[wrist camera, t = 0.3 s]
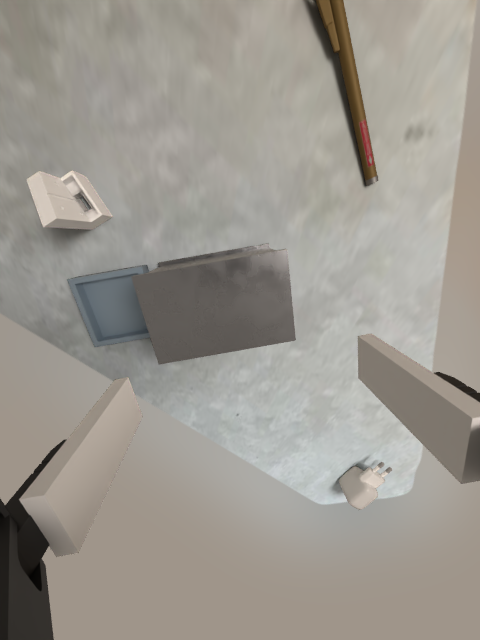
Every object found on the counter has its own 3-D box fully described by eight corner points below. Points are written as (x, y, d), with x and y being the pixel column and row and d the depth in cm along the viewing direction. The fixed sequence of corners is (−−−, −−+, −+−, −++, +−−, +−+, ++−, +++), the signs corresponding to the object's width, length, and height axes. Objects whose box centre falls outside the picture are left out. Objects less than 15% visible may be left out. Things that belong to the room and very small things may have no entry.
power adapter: (370, 447, 53) (387, 471, 47) (384, 456, 54) (402, 481, 48) (334, 478, 55) (346, 505, 50) (348, 486, 56) (362, 513, 51)
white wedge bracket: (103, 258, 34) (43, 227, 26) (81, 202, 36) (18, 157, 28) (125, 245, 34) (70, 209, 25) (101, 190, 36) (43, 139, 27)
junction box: (159, 262, 37) (128, 275, 25) (268, 243, 37) (288, 247, 25) (177, 327, 41) (157, 366, 29) (276, 310, 41) (297, 341, 29)
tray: (76, 276, 37) (67, 279, 35) (146, 264, 37) (141, 266, 35) (101, 340, 41) (94, 347, 39) (165, 329, 41) (162, 335, 39)
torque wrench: (379, 177, 37) (349, 192, 37) (309, -195, 24) (264, -161, 25) (398, 172, 32) (363, 189, 33) (324, -286, 19) (270, -241, 20)
